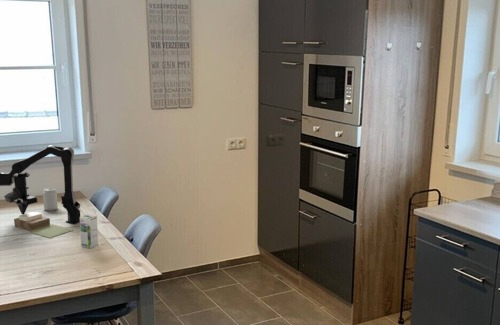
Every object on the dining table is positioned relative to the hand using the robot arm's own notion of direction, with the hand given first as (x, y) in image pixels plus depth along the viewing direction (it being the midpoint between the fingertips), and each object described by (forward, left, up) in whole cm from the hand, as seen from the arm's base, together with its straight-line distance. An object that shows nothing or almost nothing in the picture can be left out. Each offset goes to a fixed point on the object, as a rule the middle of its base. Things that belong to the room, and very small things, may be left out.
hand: (23, 214), depth 281 cm
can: (+11, -25, -5) cm, 28 cm away
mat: (-22, 0, -5) cm, 23 cm away
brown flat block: (-7, 0, -5) cm, 9 cm away
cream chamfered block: (-6, 0, -1) cm, 6 cm away
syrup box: (-54, +3, -5) cm, 55 cm away
